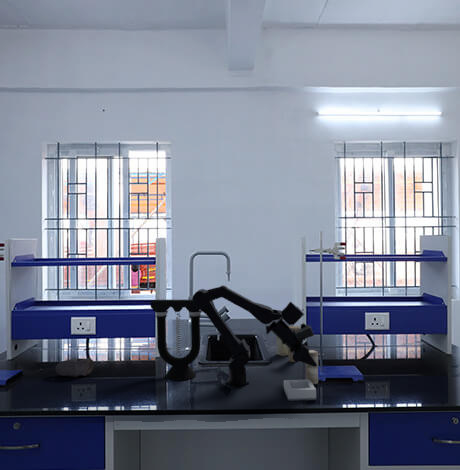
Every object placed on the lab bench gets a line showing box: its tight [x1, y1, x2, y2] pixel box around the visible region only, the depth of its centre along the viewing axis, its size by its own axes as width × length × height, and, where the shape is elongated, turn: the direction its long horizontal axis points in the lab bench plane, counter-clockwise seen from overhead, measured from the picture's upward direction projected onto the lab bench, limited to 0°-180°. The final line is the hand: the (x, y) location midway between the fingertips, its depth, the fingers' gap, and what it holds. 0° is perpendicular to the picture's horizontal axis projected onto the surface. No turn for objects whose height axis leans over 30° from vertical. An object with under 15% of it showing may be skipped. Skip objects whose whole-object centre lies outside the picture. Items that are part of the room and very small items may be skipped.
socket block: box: [283, 379, 317, 402], centre depth 144 cm, size 9×9×4 cm
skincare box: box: [275, 335, 288, 357], centre depth 192 cm, size 6×4×12 cm
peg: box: [305, 349, 319, 385], centre depth 153 cm, size 4×4×11 cm
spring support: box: [150, 299, 203, 381], centre depth 165 cm, size 21×12×30 cm, turn 83°
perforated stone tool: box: [55, 357, 94, 378], centre depth 167 cm, size 15×5×7 cm, turn 85°
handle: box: [287, 325, 301, 363], centre depth 181 cm, size 5×6×15 cm
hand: (315, 363), depth 153 cm, fingers closed on peg, 4 cm apart
